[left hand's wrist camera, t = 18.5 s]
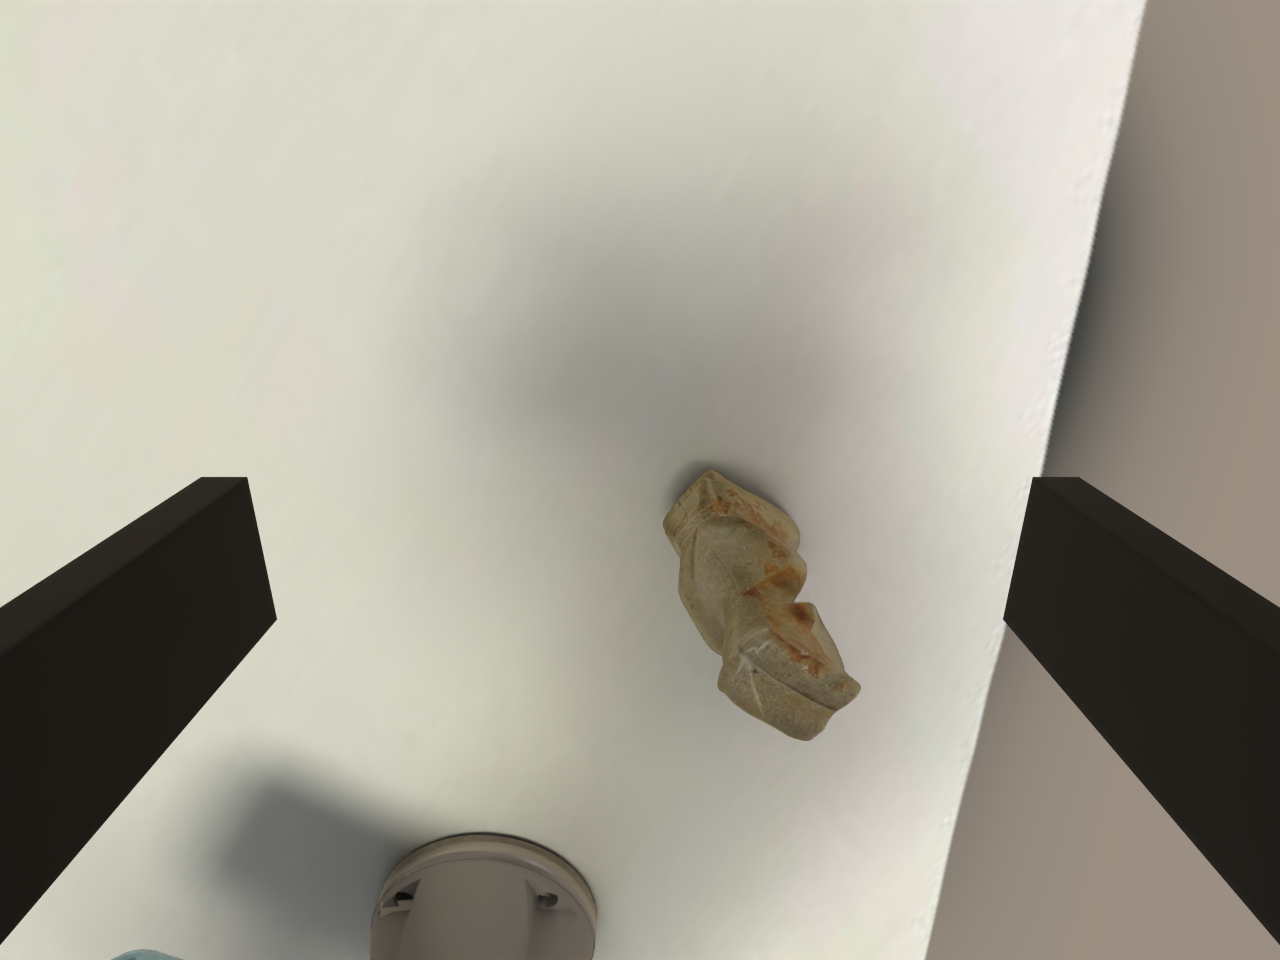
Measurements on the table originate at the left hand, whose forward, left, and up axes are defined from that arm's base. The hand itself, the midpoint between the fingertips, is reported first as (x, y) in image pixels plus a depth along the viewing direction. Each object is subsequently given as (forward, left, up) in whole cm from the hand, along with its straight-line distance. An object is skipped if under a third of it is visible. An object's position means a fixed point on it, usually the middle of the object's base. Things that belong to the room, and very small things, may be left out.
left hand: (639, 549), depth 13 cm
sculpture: (-11, -5, -26) cm, 29 cm away
